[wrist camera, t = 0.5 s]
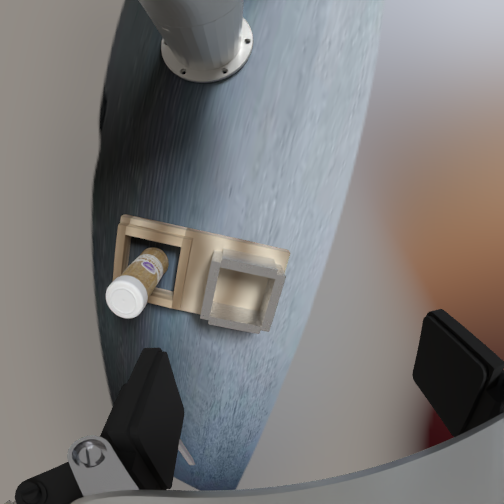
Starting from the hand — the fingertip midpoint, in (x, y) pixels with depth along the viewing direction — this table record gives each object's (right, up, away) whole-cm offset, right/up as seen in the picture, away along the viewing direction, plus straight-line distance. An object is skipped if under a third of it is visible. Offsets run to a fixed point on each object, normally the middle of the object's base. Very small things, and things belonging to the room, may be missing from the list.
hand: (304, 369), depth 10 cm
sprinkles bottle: (-16, +3, +33) cm, 37 cm away
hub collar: (-3, -1, +33) cm, 33 cm away
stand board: (-10, +1, +34) cm, 35 cm away
